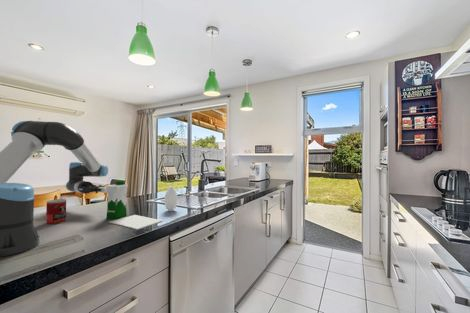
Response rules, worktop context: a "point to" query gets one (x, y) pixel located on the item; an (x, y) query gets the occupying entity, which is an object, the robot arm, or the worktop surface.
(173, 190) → the sauce bottle
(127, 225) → the mat
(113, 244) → the worktop surface
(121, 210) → the soya milk
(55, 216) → the canned food
